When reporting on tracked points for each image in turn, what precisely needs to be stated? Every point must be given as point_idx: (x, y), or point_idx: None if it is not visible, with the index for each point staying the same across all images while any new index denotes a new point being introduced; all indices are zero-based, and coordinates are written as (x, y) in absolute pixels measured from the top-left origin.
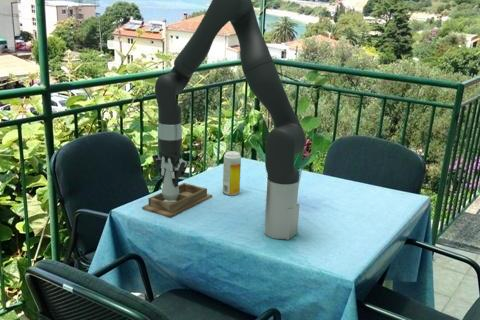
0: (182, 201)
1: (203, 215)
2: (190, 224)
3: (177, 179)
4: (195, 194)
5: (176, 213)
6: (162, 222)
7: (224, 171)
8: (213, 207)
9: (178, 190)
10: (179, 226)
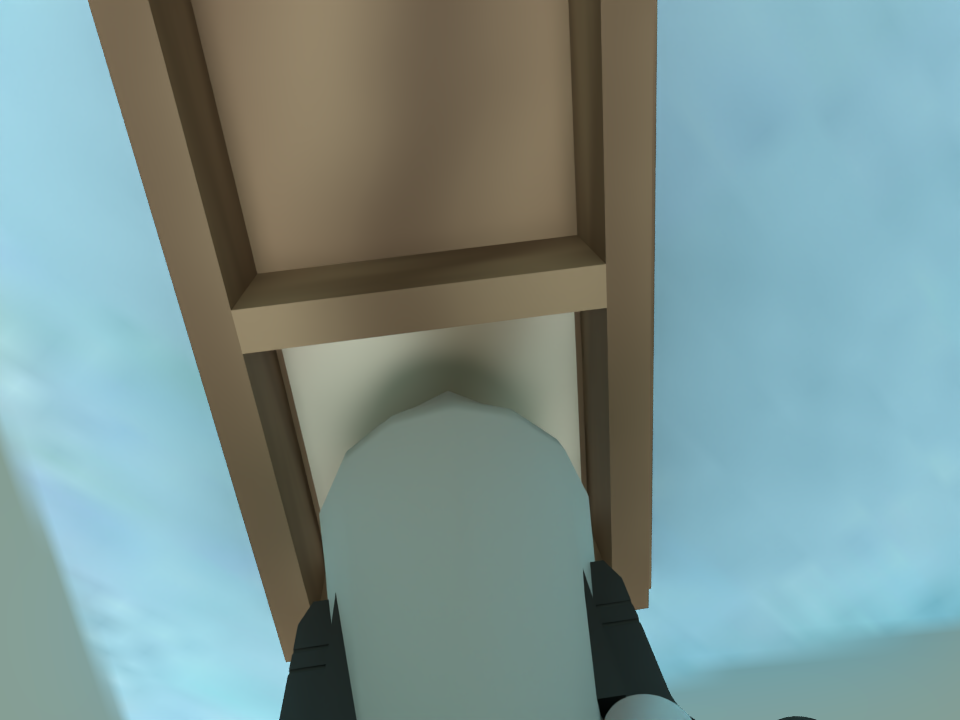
0: (646, 437)
1: (875, 319)
2: (866, 533)
3: (659, 694)
4: (650, 143)
5: (649, 509)
6: None
7: None
8: (869, 45)
9: (575, 488)
10: (806, 611)
